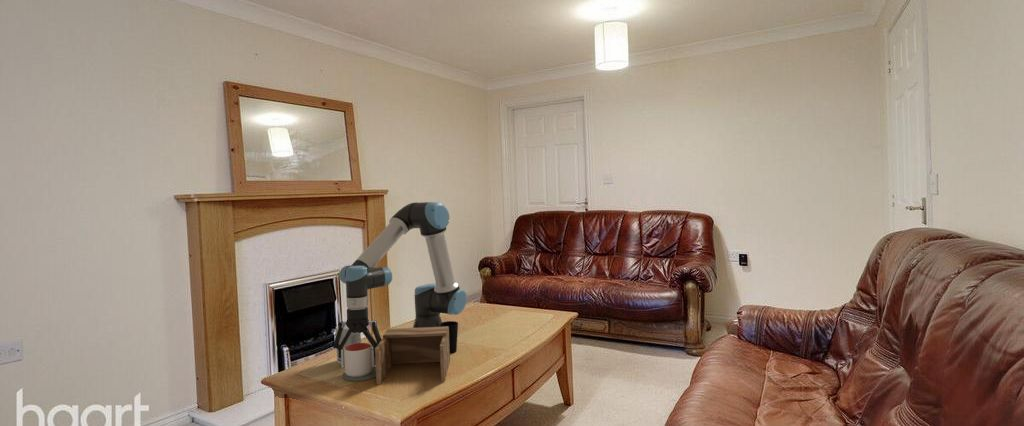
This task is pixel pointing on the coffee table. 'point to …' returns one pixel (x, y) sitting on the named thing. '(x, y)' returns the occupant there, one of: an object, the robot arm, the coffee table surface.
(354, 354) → the cup
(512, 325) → the coffee table surface
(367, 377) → the coaster
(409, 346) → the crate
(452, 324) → the cup
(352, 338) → the supplement tub
